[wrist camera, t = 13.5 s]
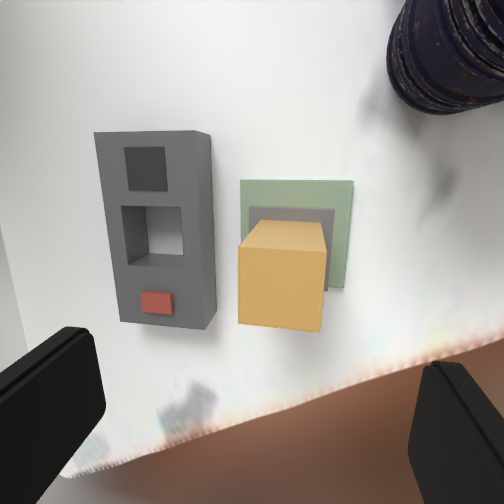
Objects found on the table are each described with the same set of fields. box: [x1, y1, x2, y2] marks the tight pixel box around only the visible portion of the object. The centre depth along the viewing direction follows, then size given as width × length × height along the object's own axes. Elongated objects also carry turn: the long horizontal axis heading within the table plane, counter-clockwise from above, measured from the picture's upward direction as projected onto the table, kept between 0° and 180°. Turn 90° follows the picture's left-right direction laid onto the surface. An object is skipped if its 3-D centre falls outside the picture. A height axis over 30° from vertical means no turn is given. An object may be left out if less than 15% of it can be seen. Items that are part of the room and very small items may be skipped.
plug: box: [238, 205, 335, 332], centre depth 22 cm, size 6×6×13 cm
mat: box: [240, 180, 354, 288], centre depth 28 cm, size 10×10×1 cm
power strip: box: [94, 130, 217, 330], centre depth 29 cm, size 18×9×5 cm, turn 179°
